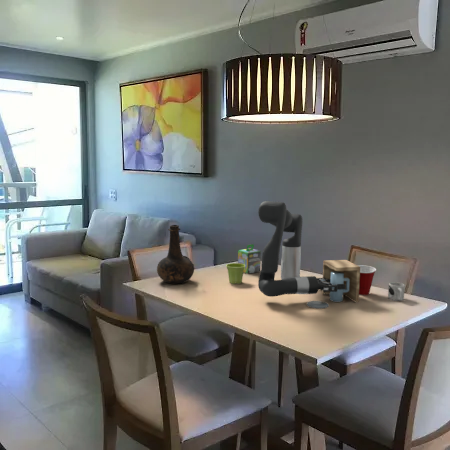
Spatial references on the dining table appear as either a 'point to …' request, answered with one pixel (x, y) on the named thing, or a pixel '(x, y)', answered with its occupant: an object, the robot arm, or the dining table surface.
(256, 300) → the dining table surface
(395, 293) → the mug
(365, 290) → the plastic cup
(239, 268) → the plant pot
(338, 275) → the light blue piece
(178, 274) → the glass bottle
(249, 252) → the chalk box
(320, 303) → the coaster
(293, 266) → the robot arm
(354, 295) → the shelf
